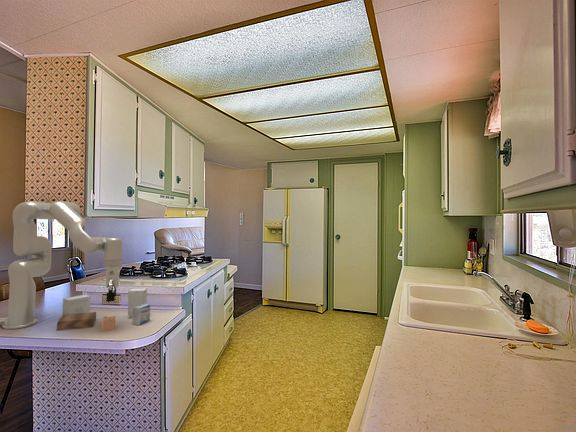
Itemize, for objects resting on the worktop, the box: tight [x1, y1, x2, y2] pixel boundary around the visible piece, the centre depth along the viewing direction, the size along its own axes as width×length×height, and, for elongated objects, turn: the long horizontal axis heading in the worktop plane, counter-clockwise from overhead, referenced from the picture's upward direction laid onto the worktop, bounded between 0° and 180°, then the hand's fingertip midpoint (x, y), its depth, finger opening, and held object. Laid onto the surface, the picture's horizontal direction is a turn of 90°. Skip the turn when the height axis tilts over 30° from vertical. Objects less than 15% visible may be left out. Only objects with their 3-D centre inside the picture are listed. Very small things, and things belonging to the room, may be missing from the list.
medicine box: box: [131, 303, 151, 326], centre depth 150 cm, size 8×4×9 cm, turn 168°
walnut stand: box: [56, 311, 97, 332], centre depth 144 cm, size 14×12×4 cm
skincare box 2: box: [127, 287, 148, 319], centre depth 160 cm, size 8×6×15 cm
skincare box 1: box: [62, 294, 91, 315], centre depth 156 cm, size 10×6×10 cm, turn 152°
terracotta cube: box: [101, 315, 116, 332], centre depth 140 cm, size 5×5×5 cm
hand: (111, 298), depth 141 cm, fingers open, 9 cm apart
